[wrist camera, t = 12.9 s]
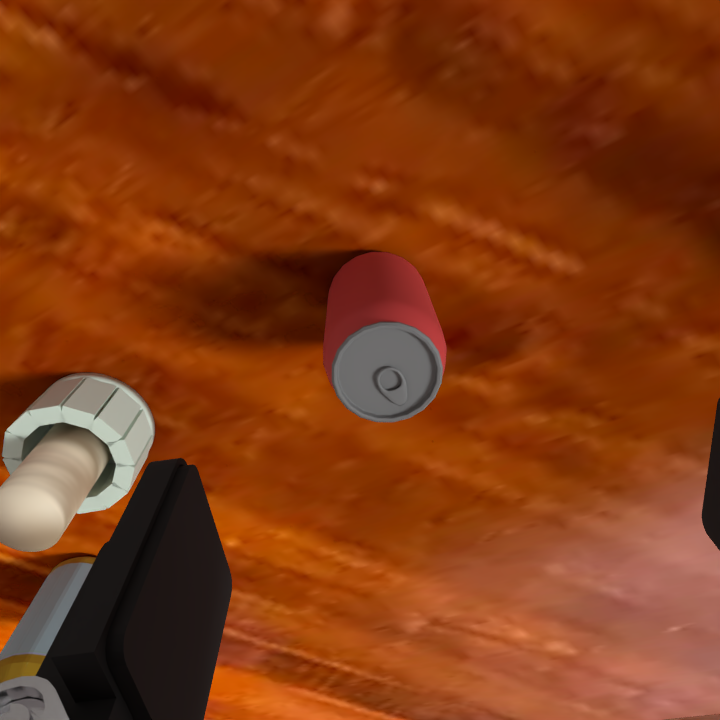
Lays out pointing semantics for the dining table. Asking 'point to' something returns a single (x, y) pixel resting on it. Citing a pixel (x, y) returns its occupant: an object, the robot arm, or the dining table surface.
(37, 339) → the dining table surface
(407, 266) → the beer can
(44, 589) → the bottle
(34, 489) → the plug
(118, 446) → the cup
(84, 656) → the robot arm
